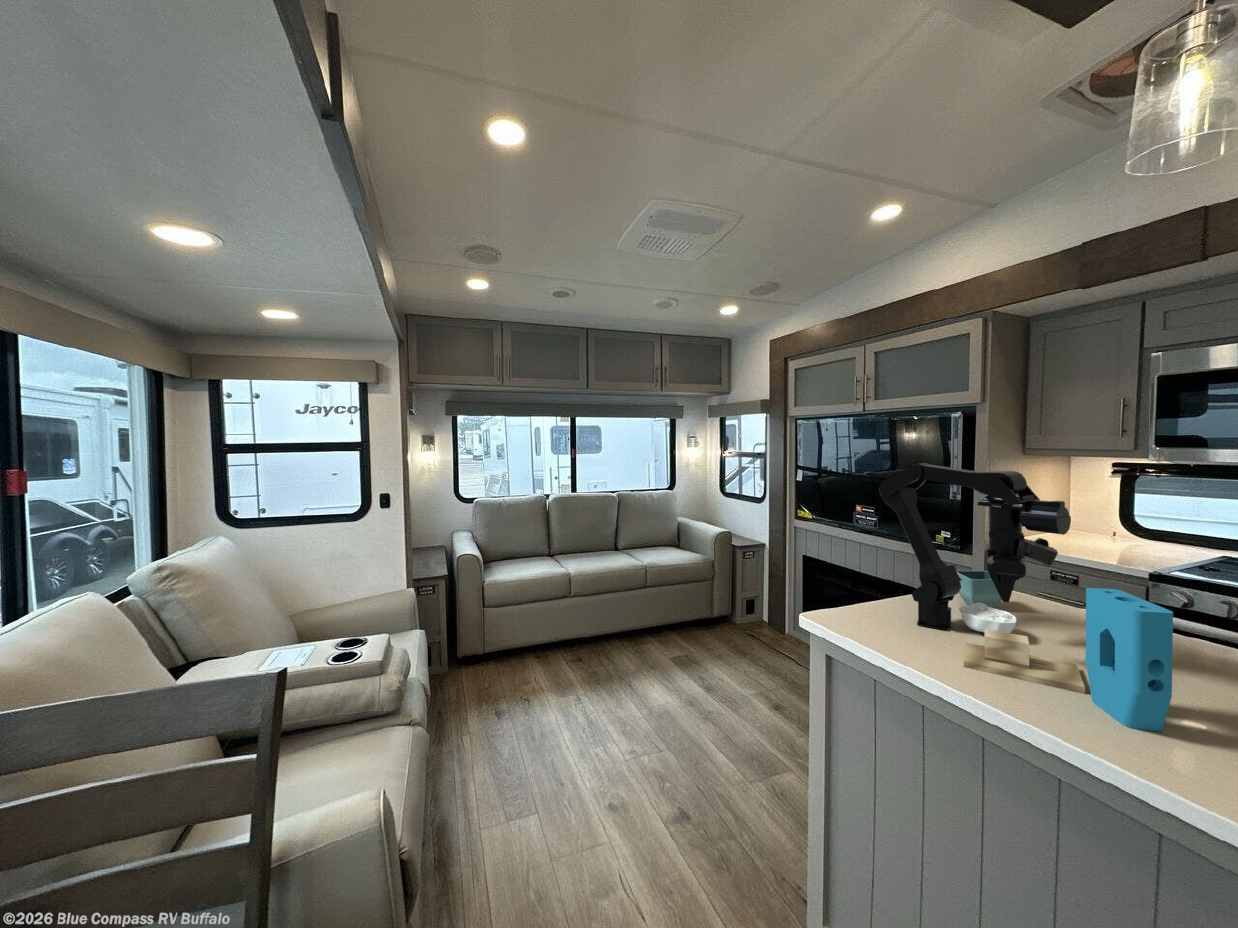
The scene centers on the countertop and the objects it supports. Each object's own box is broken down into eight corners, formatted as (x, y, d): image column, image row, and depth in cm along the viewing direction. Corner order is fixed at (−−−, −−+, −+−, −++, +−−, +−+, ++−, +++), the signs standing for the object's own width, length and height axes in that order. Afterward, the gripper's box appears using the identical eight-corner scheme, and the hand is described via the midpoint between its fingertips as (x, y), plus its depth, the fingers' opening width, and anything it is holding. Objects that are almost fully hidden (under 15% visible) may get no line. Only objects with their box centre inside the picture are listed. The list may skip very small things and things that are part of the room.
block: (1082, 694, 85) (1083, 587, 84) (1116, 697, 83) (1117, 589, 82) (1134, 734, 73) (1135, 611, 72) (1175, 738, 72) (1177, 613, 71)
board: (963, 666, 96) (963, 660, 96) (965, 647, 105) (965, 642, 105) (1085, 693, 85) (1085, 687, 85) (1076, 669, 93) (1076, 663, 93)
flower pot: (971, 611, 126) (970, 579, 125) (953, 600, 134) (953, 570, 134) (1007, 612, 124) (1006, 579, 124) (986, 601, 133) (986, 570, 133)
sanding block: (984, 659, 96) (984, 636, 96) (984, 651, 100) (984, 628, 100) (1029, 668, 92) (1029, 644, 92) (1027, 659, 95) (1027, 636, 95)
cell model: (991, 644, 105) (991, 616, 105) (948, 624, 117) (948, 598, 117) (1030, 641, 106) (1031, 613, 106) (984, 621, 118) (984, 596, 118)
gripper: (1059, 538, 90) (1059, 616, 91) (1049, 523, 105) (1049, 590, 105) (987, 533, 97) (987, 605, 98) (987, 520, 112) (987, 583, 112)
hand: (1005, 595), depth 103 cm, fingers open, 9 cm apart
